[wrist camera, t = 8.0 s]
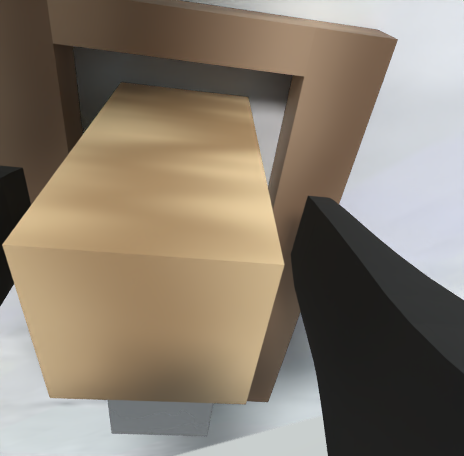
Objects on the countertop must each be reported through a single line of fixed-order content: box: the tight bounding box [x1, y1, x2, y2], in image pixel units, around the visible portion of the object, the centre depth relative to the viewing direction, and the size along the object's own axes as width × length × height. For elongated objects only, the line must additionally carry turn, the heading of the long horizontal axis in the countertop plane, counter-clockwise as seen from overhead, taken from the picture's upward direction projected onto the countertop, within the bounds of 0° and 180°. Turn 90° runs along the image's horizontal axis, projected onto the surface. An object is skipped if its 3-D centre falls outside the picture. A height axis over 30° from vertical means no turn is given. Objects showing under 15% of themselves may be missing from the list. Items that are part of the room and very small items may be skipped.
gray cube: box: [108, 400, 213, 436], centre depth 16 cm, size 4×4×4 cm
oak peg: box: [2, 82, 284, 404], centre depth 10 cm, size 4×4×8 cm
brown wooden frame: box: [0, 0, 398, 402], centre depth 15 cm, size 11×18×2 cm, turn 173°
